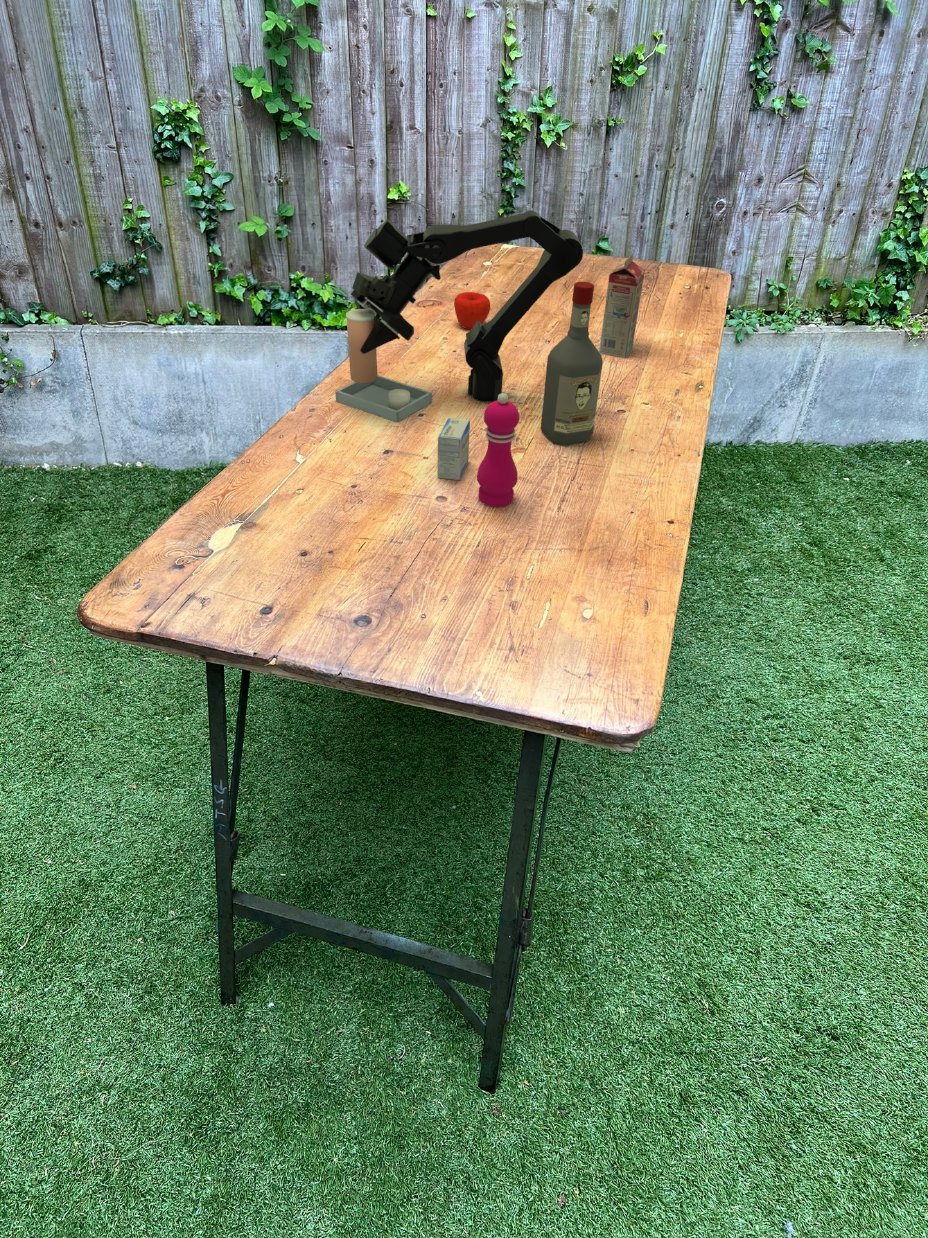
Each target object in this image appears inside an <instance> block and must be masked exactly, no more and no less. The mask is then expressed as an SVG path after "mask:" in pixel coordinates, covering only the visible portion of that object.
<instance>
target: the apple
mask: <svg viewBox="0 0 928 1238" xmlns="http://www.w3.org/2000/svg"><path fill="white" fill-rule="evenodd" d="M453 303H454V304H453V305H454V311H455V315H456V316H455V317H456V319H457V322H458V324H459V325H460V327H462V328H464V329H466V330H469V331H471V330H472V329H473V327H474V325H475V324H476V322H477V321H480V323H481V324H482V325H483V324H485V321H486V319H487V318H488V316H489V314H490V312H491V301H490V299H489V298H488V296H486V295H485V294H482V293H479V292H474V291H466V292H465V291H464V292H460V293H459V294H457V295H456V296H455V298H454V301H453Z"/></svg>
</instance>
